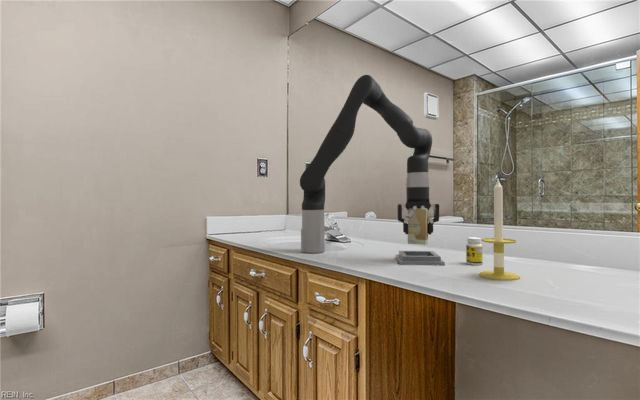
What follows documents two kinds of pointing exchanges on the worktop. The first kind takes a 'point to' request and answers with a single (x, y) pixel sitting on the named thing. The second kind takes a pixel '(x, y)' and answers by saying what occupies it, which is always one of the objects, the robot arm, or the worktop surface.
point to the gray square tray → (419, 258)
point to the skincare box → (418, 227)
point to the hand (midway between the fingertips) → (418, 234)
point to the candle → (498, 240)
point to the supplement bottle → (474, 251)
